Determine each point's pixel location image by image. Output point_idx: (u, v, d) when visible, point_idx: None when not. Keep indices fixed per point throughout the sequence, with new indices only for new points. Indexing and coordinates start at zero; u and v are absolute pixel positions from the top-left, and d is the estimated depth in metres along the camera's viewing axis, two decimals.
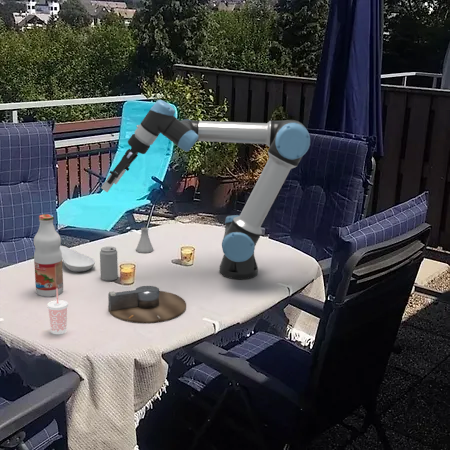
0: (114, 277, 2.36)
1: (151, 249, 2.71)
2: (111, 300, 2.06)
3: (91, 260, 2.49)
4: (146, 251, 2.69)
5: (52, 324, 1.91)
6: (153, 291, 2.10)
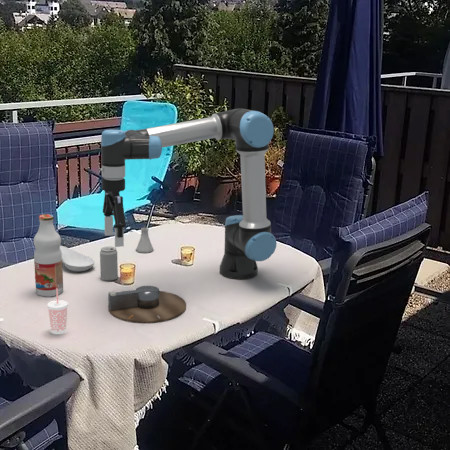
0: (114, 277, 2.36)
1: (151, 249, 2.71)
2: (111, 300, 2.06)
3: (90, 260, 2.49)
4: (146, 251, 2.69)
5: (52, 324, 1.91)
6: (153, 291, 2.10)
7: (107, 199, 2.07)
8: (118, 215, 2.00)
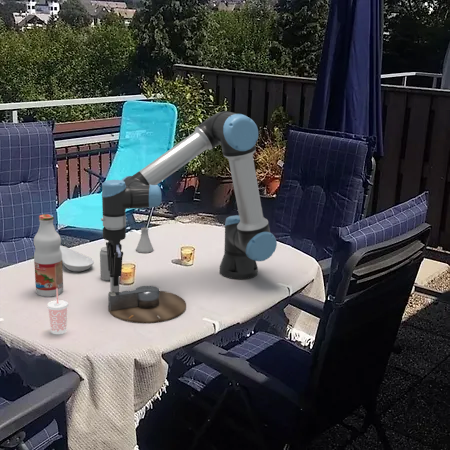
0: None
1: (151, 249, 2.71)
2: (111, 300, 2.06)
3: (90, 260, 2.49)
4: (146, 251, 2.69)
5: (52, 324, 1.91)
6: (153, 291, 2.10)
7: (108, 247, 2.11)
8: (116, 268, 2.08)
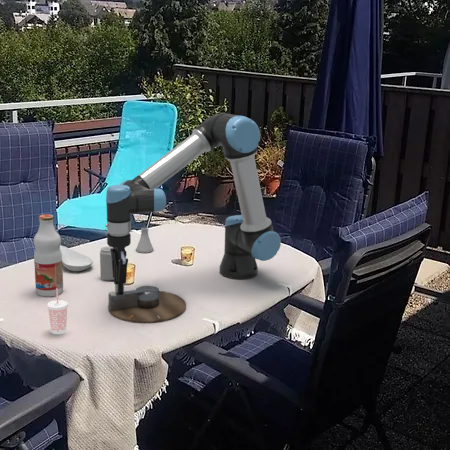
0: None
1: (151, 249, 2.71)
2: (111, 300, 2.05)
3: (89, 260, 2.50)
4: (146, 251, 2.69)
5: (52, 324, 1.91)
6: (153, 291, 2.10)
7: (113, 254, 2.06)
8: (120, 275, 2.03)
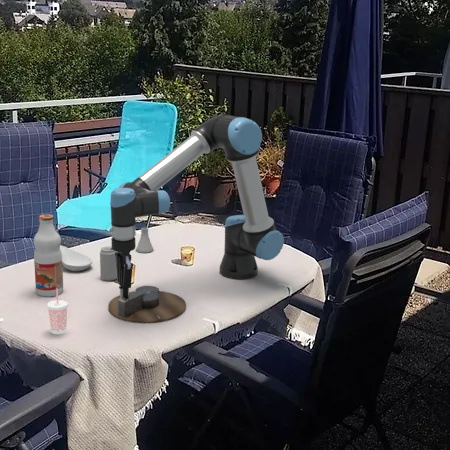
0: (114, 277, 2.36)
1: (151, 249, 2.71)
2: (125, 306, 2.01)
3: (89, 259, 2.50)
4: (146, 251, 2.69)
5: (52, 324, 1.91)
6: (155, 290, 2.11)
7: None
8: (125, 280, 2.00)
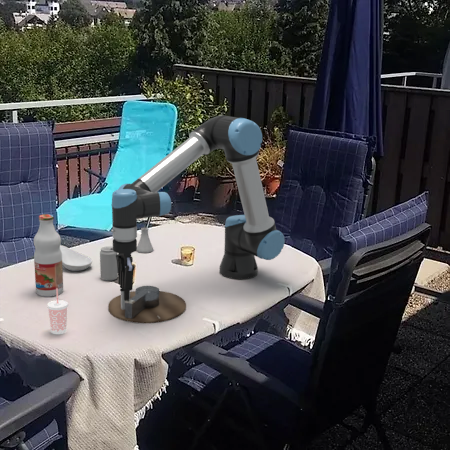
0: (114, 277, 2.36)
1: (151, 249, 2.71)
2: (132, 308, 2.00)
3: (88, 259, 2.50)
4: (146, 251, 2.69)
5: (52, 324, 1.91)
6: (155, 289, 2.12)
7: (119, 260, 2.00)
8: (126, 282, 1.97)
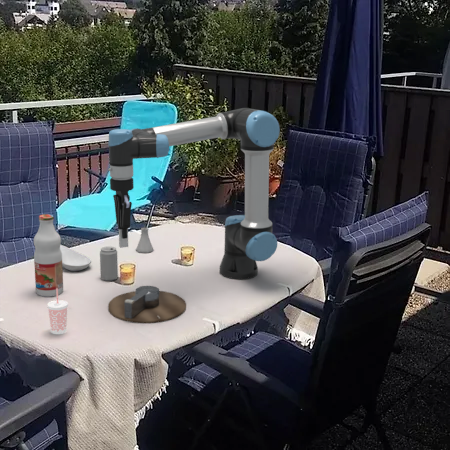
0: (114, 277, 2.36)
1: (151, 249, 2.71)
2: (132, 308, 2.00)
3: (87, 259, 2.50)
4: (146, 251, 2.69)
5: (52, 324, 1.91)
6: (155, 289, 2.12)
7: (116, 199, 2.07)
8: (124, 219, 2.04)
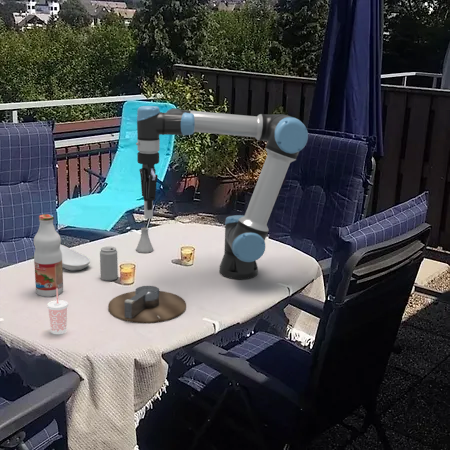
0: (114, 277, 2.36)
1: (151, 249, 2.71)
2: (132, 308, 2.00)
3: (87, 259, 2.50)
4: (146, 251, 2.69)
5: (52, 324, 1.91)
6: (155, 289, 2.12)
7: (143, 172, 2.19)
8: (150, 191, 2.16)
